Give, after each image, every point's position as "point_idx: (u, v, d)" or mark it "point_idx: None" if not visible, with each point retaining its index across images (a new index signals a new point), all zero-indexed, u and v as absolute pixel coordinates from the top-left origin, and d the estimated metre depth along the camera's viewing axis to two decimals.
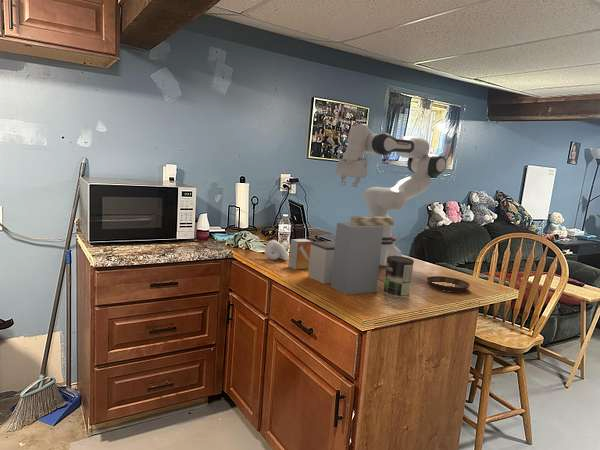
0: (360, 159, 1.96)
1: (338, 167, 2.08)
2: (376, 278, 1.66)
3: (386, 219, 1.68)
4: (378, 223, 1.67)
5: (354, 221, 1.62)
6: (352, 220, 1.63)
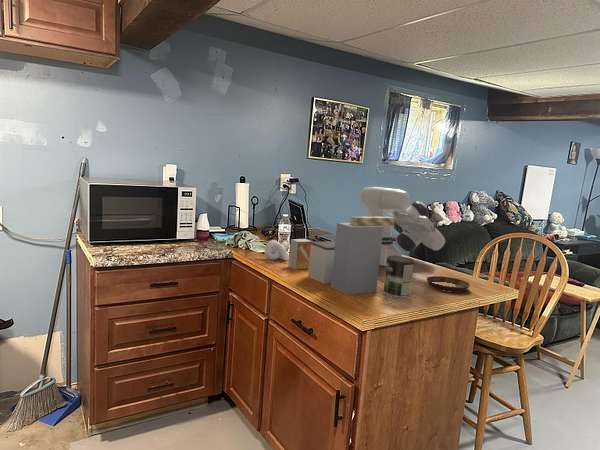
0: None
1: None
2: (376, 278, 1.66)
3: (386, 219, 1.68)
4: (378, 223, 1.67)
5: (354, 221, 1.62)
6: (352, 220, 1.63)
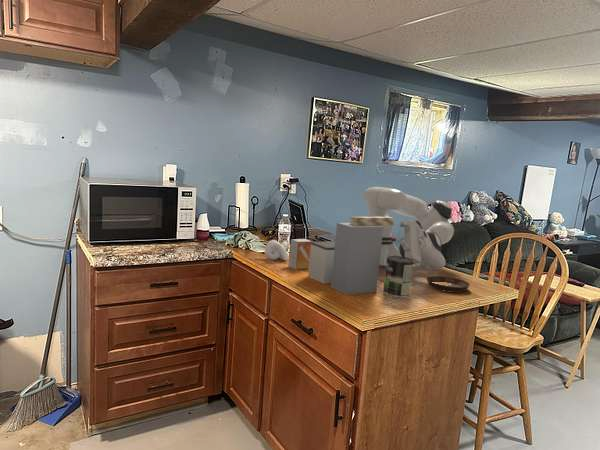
0: None
1: (415, 224, 1.83)
2: (376, 278, 1.66)
3: (386, 219, 1.68)
4: (378, 223, 1.67)
5: (354, 221, 1.62)
6: (352, 220, 1.63)
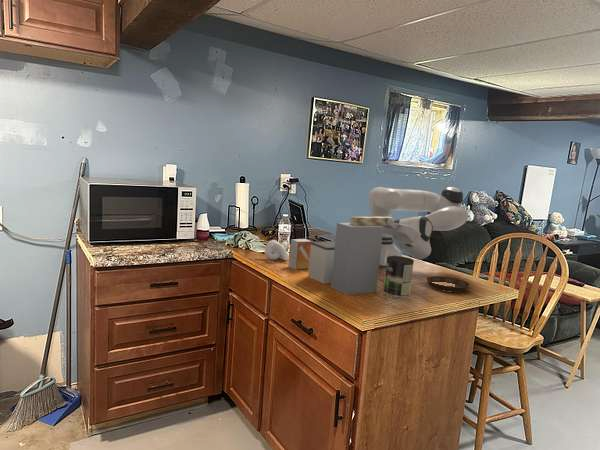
0: None
1: (407, 237, 1.66)
2: (376, 278, 1.66)
3: None
4: (378, 223, 1.67)
5: (354, 221, 1.62)
6: (352, 220, 1.63)
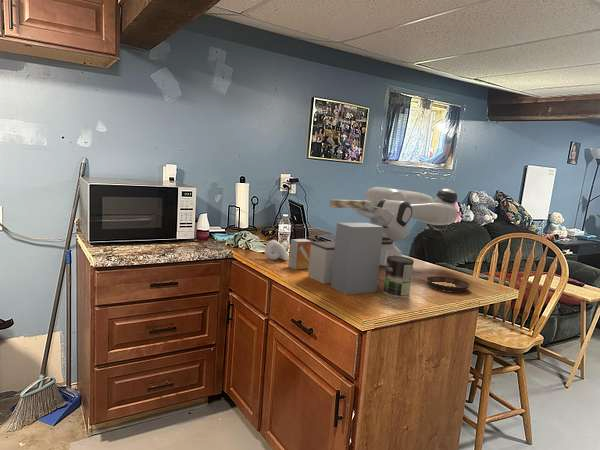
0: None
1: (382, 219, 1.79)
2: (376, 278, 1.66)
3: (363, 202, 1.81)
4: (356, 206, 1.79)
5: (333, 203, 1.74)
6: (331, 203, 1.75)
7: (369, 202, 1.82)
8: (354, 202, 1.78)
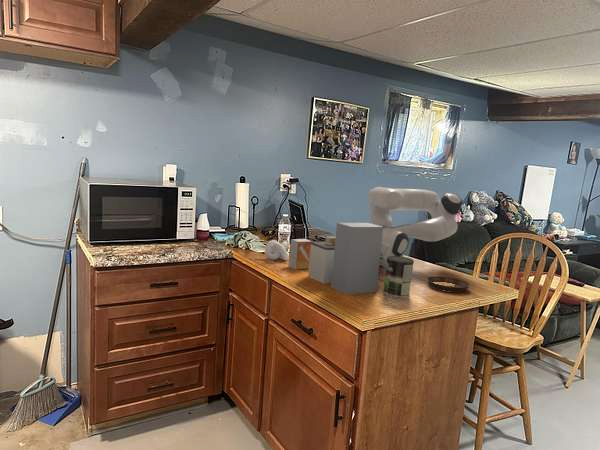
0: None
1: None
2: (376, 278, 1.66)
3: None
4: None
5: (329, 241, 1.77)
6: (327, 240, 1.78)
7: None
8: None
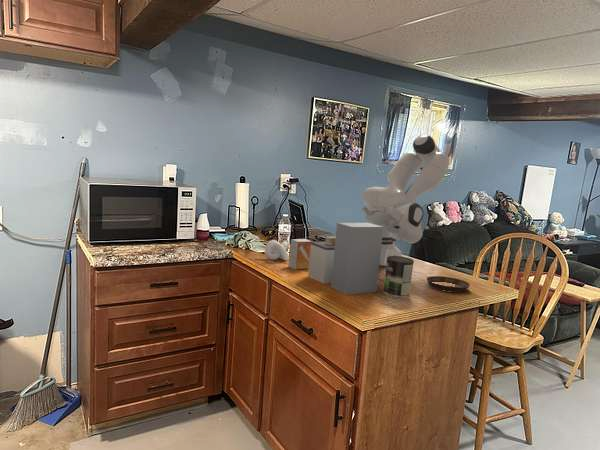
0: None
1: (392, 218, 1.83)
2: (376, 278, 1.66)
3: None
4: None
5: (329, 241, 1.77)
6: (327, 240, 1.78)
7: None
8: None
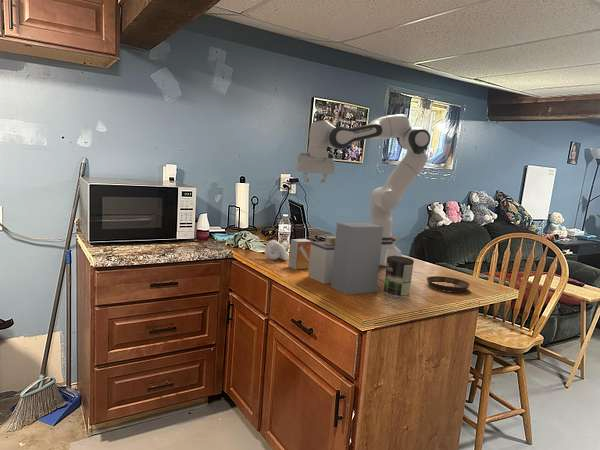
0: None
1: None
2: (376, 278, 1.66)
3: None
4: None
5: (329, 241, 1.77)
6: (327, 240, 1.78)
7: None
8: None
